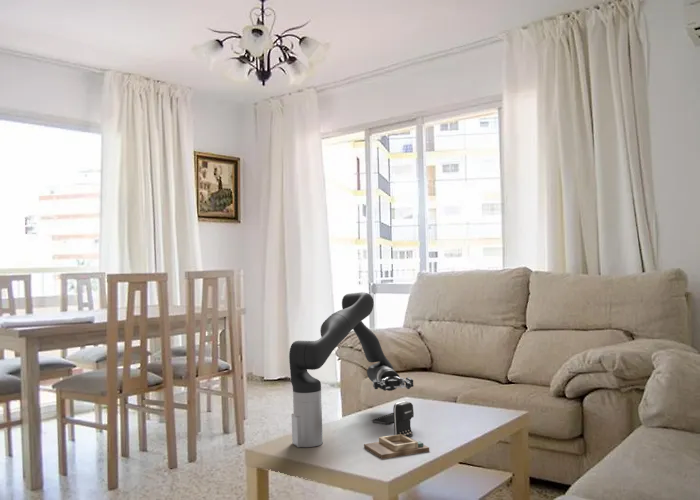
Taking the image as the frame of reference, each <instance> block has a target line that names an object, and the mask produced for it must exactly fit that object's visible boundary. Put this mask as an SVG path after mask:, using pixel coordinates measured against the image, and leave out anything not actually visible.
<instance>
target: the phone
mask: <svg viewBox="0 0 700 500" xmlns="http://www.w3.org/2000/svg"><path fill="white" fill-rule="evenodd" d="M371 422H372V423H373V424H379V425H385V426H387V425H388V426H389V425H394V416H393V412H392V413H388V414H385V415H383V416H380V417H377V418H374V419H372V420H371Z"/></svg>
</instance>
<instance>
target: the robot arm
mask: <svg viewBox="0 0 700 500" xmlns="http://www.w3.org/2000/svg"><path fill="white" fill-rule="evenodd" d="M374 306H375V305H374V298H373V296H372V295H371V294H370V293H368V292H365V291H364V292H363V291H362V292H354V293H347V294H345V295H344V296H343V297H342V299H341V307H342V309H340V310H338V311H336V312H334V313H332V314H331V315H329V316H328V317H326V319H325V320H324V321H323V322H322V324H321V326H320V338H319V339H317V340H295V341H294V342H292V343H291V346H290V348H289V352H288V353H289V355H288V358H289V360H288V361H289V372H290V373H289V374H290V382H291V387H292V409H293V413H291V440H292V441H291V442H292V444H293V445H294V446H295V447H296V448H311V447H312V448H313V447H318V446H321V445H322V444H323V442H324V441H323V440H324V439H323V438H324V437H323V411H322V410H323V409H322V408H323V407H322V406H323V405H322V383H321V381H320V380H319V378H315V377H314V376H312V375H311V374H310V373H309V371H310V370H311V371H312V370H313V371H315V370H319V369H320V368H322V367H323V365H324V364H325V363H326V361H327V360H328V358H329V357H330V356H331V355H332V353H333V352H334V350H335V349H336V348H337V346H339V344H341V342H342V341H344V339H345V338H346V337H348V335H349V334H350V333H351V332H352V330H353V331H354V334H355V335H356V337H357V339H358V341H359V343H360V345H361V347H362V350H363V353H364V355H365V358H366V360H367V362H368V363H374V364H371V365H370V366H368V367H367V369H366V373H367V374H366V375H367V377H368V379H369V380H370V381H371V382H372V386H373V389H374V390H378V389H379V390H382V391H383V392H384V391H388V392H392V391H395V390H396V389H397V388H399V389H403V388H405V389H407V390H410V389H411V388H413V387H414V385H415V384H414V378H411V377H410V376H407V377H400V374H398V372H397V371H395V370H394V366H393V365H392V363H391V362H390V361H389V360H388V358H387V356H385V355H386V354H385V353H384V351H383V349H382V345H381V343H380V340H379V338H378V337H377V336H376V334H375V333H374V332H373V331H372V330H371V329H370V328H369V327H368V326H367V325H366V324H365V323H364V322H363V320H364V319H366V318H367V317H368V316H370V315H371V313H372V311H373V309H374ZM308 370H309V371H308Z"/></svg>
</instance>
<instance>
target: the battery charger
mask: <svg viewBox="0 0 700 500" xmlns="http://www.w3.org/2000/svg"><path fill="white" fill-rule="evenodd" d="M392 411H393V412H392V413H393V416H394V423H393V427H394V429H393V431H394V433H393V435H398V434H403V435H405V436H407V437H409V438H411V437H412V436H413V431H412V428H411V427H412V426H411V419H412V418H414V414H415V413H414V404H413V403H412V402H409V401H406V400H404V401H400V402H396V403H395V404H394V405H393V410H392Z"/></svg>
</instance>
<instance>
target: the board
mask: <svg viewBox="0 0 700 500" xmlns="http://www.w3.org/2000/svg"><path fill="white" fill-rule="evenodd" d="M363 449H365V450H367V451H368V452H370V453H371V454H373V455H375V456H376V457H378V458H380V459H381V460H384V459H390V458H396V457H402V456H409V455H415V454H421V453H427V452H430V447H429V446H428V445H425V444H424V442H422V441H419V440H418V441H417V440H415V439H413V438H411V437H407V436H405V435H403V434H398V435H394V434H393V435H392V434H391V435H386V436H379V437H378V441H375V442H369V443H364V444H363Z"/></svg>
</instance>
